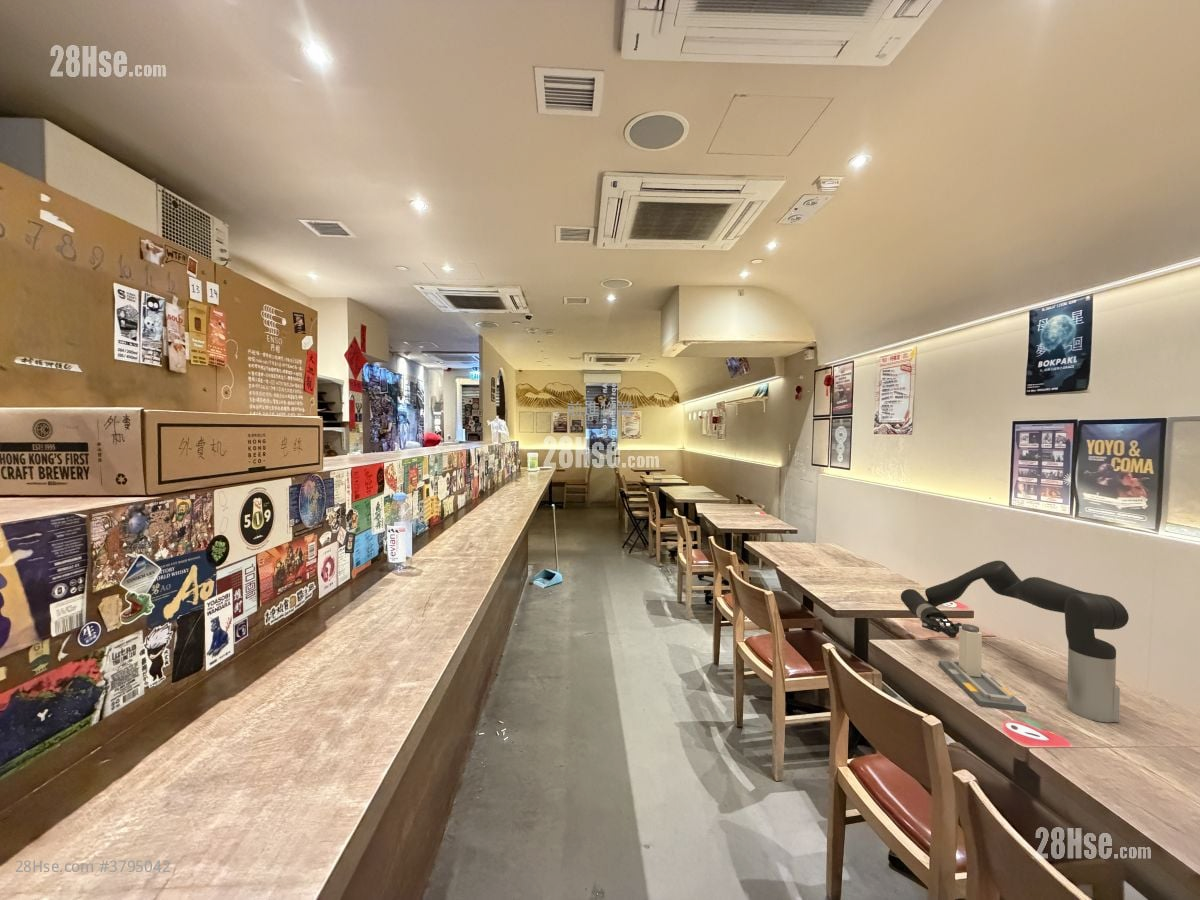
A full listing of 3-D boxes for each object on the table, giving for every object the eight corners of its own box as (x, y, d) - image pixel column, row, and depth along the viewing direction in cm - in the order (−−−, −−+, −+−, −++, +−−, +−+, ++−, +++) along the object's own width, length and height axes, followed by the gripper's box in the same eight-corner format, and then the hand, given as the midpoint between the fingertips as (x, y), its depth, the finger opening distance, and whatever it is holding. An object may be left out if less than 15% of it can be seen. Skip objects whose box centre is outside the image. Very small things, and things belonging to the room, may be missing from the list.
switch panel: (938, 664, 159) (938, 656, 159) (976, 668, 157) (976, 660, 157) (980, 706, 134) (980, 697, 134) (1026, 711, 131) (1026, 702, 131)
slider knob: (957, 668, 153) (958, 623, 153) (973, 669, 152) (974, 624, 152) (965, 675, 148) (966, 629, 148) (982, 677, 147) (982, 630, 147)
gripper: (951, 628, 175) (975, 648, 158) (911, 624, 179) (930, 643, 162) (952, 608, 175) (975, 626, 158) (911, 605, 178) (931, 622, 162)
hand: (952, 634), depth 160 cm, fingers closed
